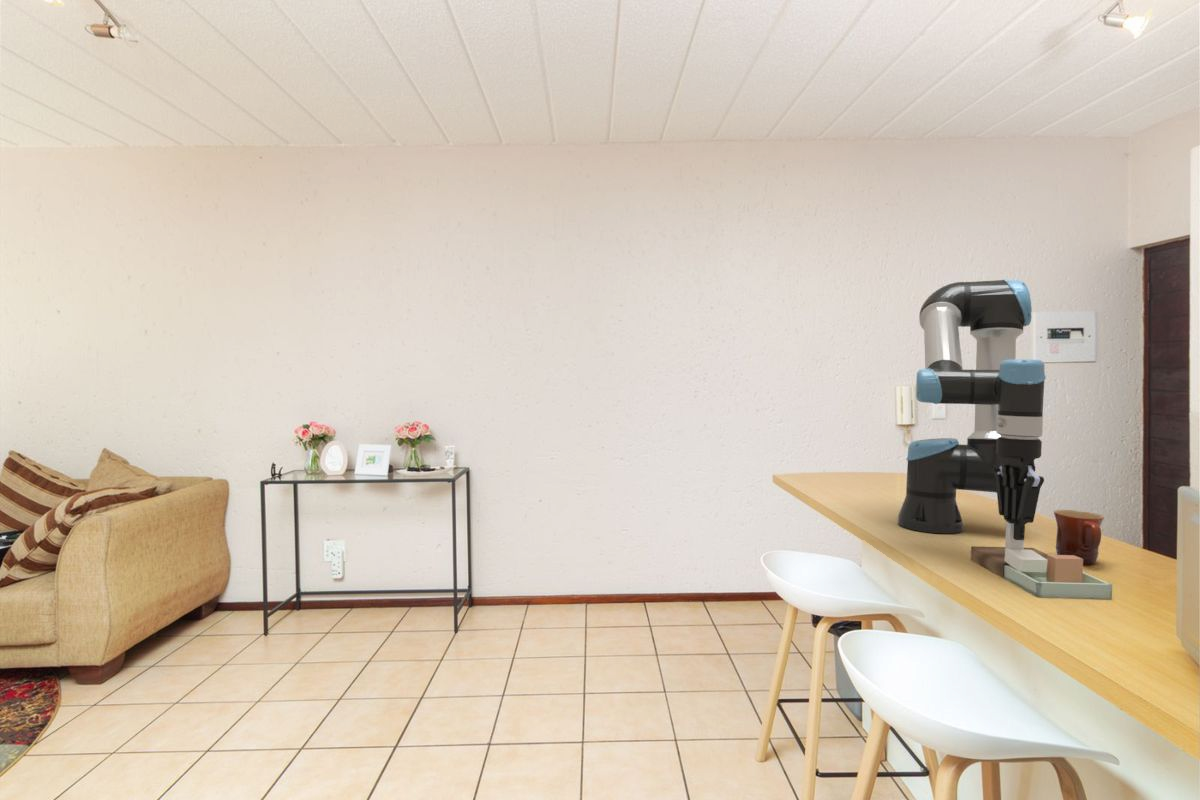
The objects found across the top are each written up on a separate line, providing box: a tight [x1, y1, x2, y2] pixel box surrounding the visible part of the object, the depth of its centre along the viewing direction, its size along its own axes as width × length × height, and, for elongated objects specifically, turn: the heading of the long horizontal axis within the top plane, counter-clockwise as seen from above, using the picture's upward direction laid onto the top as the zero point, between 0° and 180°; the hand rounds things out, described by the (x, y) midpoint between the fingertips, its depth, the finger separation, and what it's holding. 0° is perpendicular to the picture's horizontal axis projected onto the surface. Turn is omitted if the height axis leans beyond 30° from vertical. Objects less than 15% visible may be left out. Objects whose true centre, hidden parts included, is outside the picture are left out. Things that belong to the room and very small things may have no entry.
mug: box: [1053, 509, 1105, 566], centre depth 137 cm, size 12×9×10 cm
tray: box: [1003, 565, 1113, 600], centre depth 121 cm, size 10×13×3 cm
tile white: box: [1004, 549, 1048, 572], centre depth 124 cm, size 5×5×2 cm
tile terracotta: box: [1046, 554, 1084, 583], centre depth 122 cm, size 5×5×2 cm
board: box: [970, 546, 1049, 579], centre depth 132 cm, size 12×13×3 cm
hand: (1014, 554), depth 128 cm, fingers closed
